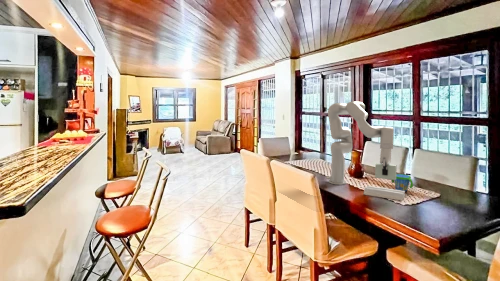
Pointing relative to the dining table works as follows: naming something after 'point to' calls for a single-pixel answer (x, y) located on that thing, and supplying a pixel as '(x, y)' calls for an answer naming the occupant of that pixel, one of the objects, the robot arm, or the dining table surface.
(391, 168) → the door panel
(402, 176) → the snack cup
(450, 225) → the dining table surface
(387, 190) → the track board
